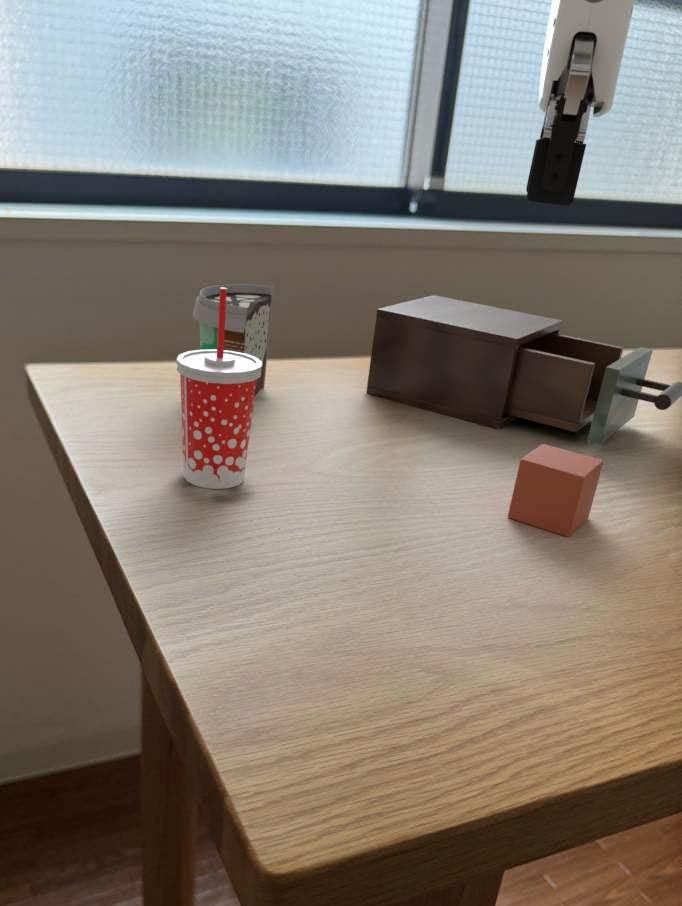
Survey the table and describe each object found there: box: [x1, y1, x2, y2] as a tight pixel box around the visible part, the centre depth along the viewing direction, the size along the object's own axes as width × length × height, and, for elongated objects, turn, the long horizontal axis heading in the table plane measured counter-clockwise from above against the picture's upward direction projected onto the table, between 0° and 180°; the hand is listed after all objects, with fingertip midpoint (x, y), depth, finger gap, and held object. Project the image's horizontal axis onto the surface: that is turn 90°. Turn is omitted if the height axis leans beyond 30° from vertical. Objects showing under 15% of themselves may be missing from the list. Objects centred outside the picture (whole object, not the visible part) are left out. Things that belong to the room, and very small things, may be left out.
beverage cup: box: [176, 288, 262, 490], centre depth 61 cm, size 6×6×14 cm
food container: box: [192, 283, 275, 402], centre depth 80 cm, size 12×6×10 cm, turn 168°
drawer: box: [505, 333, 682, 445], centre depth 81 cm, size 18×11×7 cm, turn 54°
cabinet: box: [366, 294, 564, 430], centre depth 87 cm, size 15×13×9 cm
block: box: [507, 443, 604, 538], centre depth 62 cm, size 5×5×5 cm
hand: (546, 199), depth 65 cm, fingers open, 9 cm apart
